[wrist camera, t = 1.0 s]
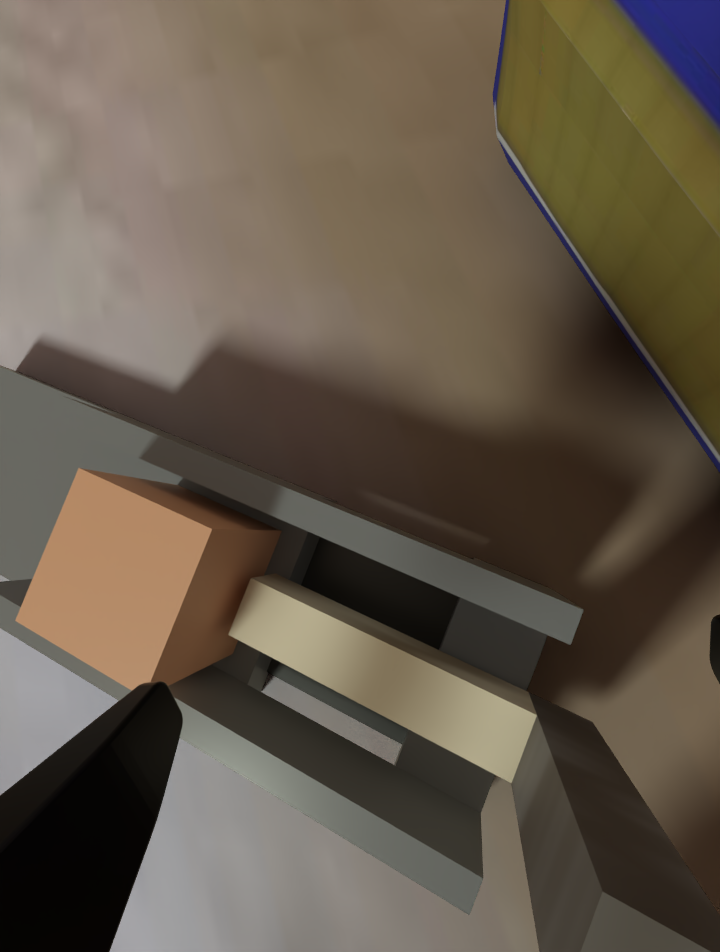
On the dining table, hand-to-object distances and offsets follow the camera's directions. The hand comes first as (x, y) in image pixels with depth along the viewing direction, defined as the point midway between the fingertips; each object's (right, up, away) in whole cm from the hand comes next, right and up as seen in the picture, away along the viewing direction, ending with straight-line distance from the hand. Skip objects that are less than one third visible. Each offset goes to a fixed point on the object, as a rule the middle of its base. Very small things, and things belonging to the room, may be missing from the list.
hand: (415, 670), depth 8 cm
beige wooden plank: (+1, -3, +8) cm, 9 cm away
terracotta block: (-7, 0, +11) cm, 13 cm away
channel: (-8, 0, +13) cm, 15 cm away
